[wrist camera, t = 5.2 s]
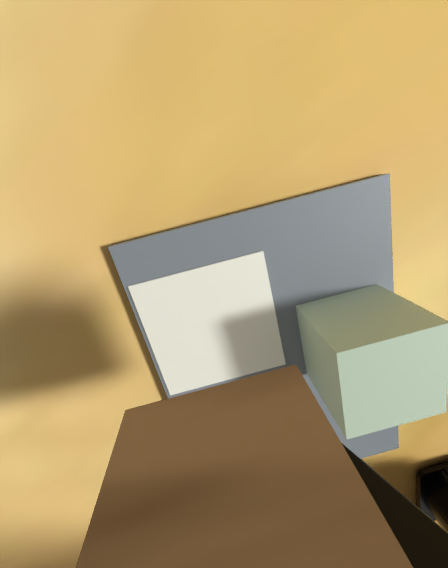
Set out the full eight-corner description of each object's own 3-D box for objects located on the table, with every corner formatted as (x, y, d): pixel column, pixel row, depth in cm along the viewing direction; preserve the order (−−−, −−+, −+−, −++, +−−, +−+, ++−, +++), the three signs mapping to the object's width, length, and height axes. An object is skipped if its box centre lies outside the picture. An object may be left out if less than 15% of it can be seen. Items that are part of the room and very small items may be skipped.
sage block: (380, 354, 18) (446, 412, 13) (306, 374, 18) (346, 439, 13) (376, 284, 16) (450, 322, 12) (295, 305, 16) (336, 353, 12)
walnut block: (317, 481, 10) (435, 765, 5) (177, 521, 10) (159, 844, 5) (296, 364, 8) (444, 622, 3) (125, 410, 8) (20, 743, 3)
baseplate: (393, 441, 22) (399, 449, 21) (207, 492, 21) (208, 502, 21) (382, 174, 15) (391, 173, 14) (111, 244, 15) (107, 247, 14)
